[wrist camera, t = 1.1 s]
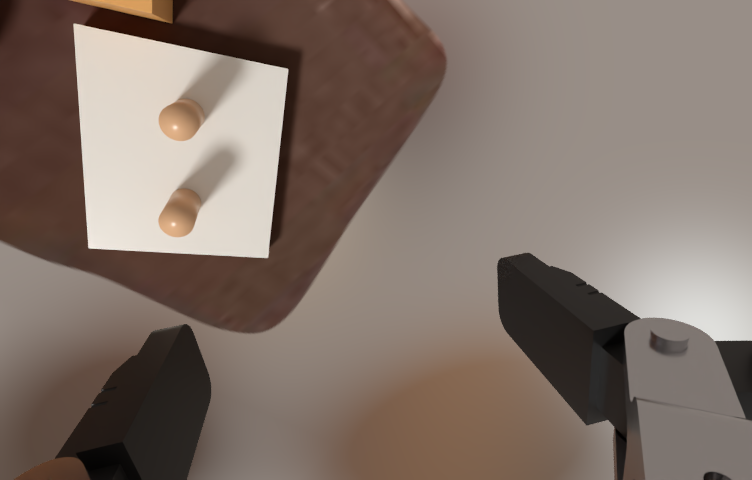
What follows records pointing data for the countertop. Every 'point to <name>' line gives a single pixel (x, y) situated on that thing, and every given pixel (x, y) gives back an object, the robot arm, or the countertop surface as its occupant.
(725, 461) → the robot arm
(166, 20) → the cube with dome top
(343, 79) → the countertop surface
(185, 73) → the plate
